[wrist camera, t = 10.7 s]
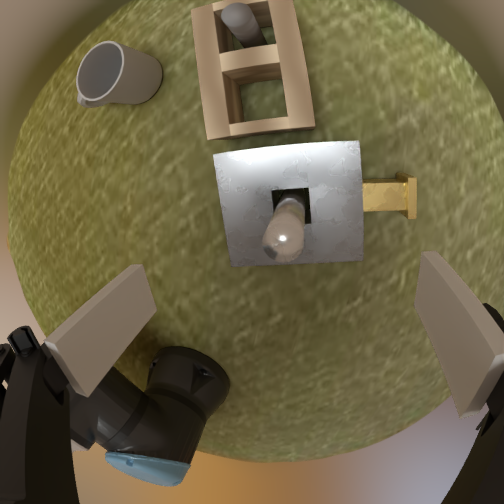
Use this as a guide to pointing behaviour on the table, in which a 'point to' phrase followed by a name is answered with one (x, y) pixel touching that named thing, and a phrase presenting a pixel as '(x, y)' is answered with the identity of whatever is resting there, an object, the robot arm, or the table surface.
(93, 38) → the table surface
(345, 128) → the table surface
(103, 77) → the cup
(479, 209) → the table surface
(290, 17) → the rack
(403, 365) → the table surface
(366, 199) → the brass square peg
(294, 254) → the round-ended peg
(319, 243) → the socket block
